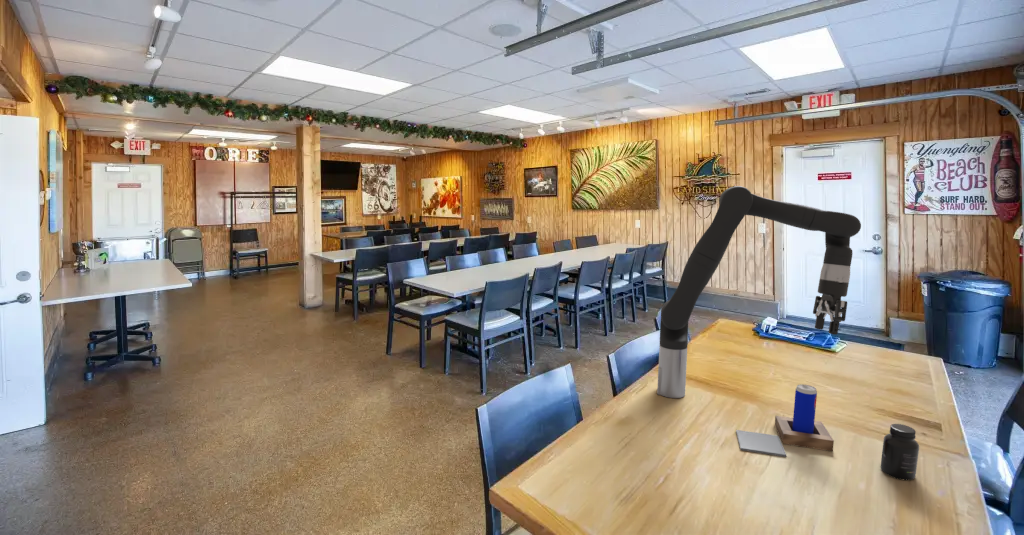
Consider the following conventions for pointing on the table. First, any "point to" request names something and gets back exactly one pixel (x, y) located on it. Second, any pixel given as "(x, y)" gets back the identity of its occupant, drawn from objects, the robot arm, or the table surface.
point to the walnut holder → (804, 435)
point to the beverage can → (804, 409)
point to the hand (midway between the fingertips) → (825, 331)
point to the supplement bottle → (900, 452)
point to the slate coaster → (760, 443)
